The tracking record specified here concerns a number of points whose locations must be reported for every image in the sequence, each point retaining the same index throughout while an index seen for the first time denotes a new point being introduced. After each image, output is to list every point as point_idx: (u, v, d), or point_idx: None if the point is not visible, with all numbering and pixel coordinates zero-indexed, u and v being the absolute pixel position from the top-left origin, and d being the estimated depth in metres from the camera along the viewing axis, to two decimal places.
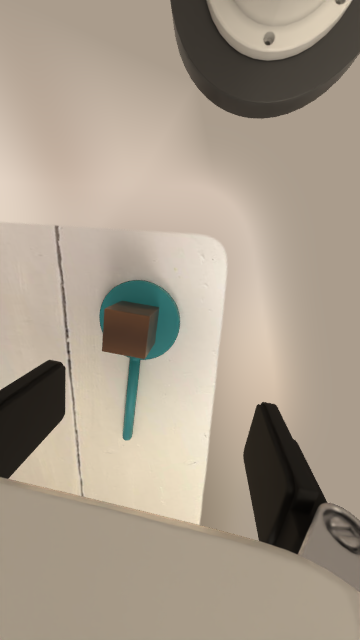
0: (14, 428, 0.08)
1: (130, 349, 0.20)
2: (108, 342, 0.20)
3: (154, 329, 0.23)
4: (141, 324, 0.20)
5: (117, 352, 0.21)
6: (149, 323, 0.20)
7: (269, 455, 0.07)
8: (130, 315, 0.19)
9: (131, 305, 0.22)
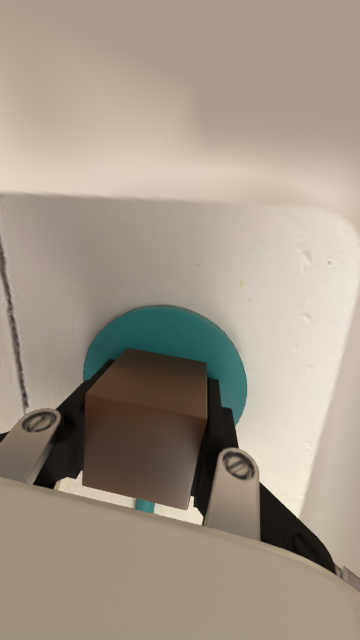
0: None
1: (152, 488, 0.08)
2: (97, 469, 0.08)
3: None
4: (183, 436, 0.07)
5: (119, 491, 0.08)
6: None
7: None
8: (153, 414, 0.07)
9: (150, 365, 0.10)
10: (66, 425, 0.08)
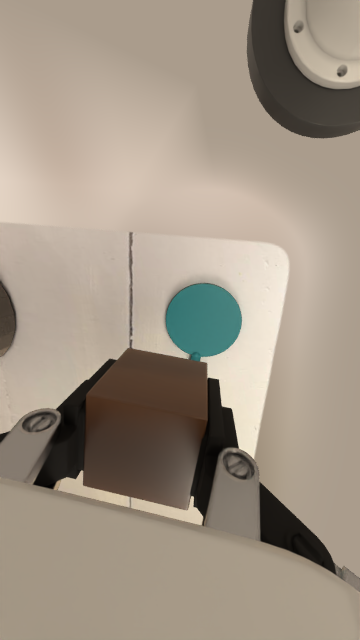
0: None
1: (153, 488, 0.08)
2: (98, 469, 0.08)
3: None
4: (183, 436, 0.07)
5: (120, 491, 0.08)
6: None
7: None
8: (153, 414, 0.07)
9: (150, 366, 0.10)
10: (66, 425, 0.08)
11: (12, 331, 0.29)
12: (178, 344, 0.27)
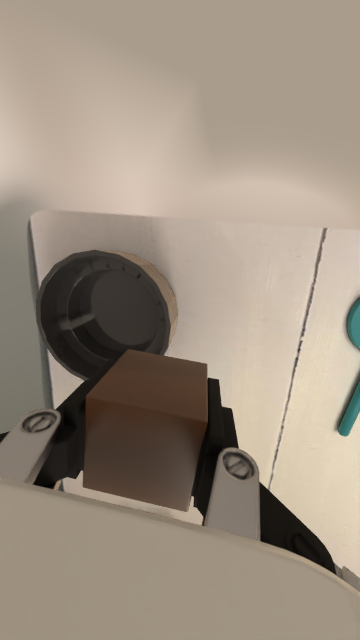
0: None
1: (153, 490, 0.08)
2: (97, 471, 0.08)
3: None
4: (183, 438, 0.07)
5: (120, 493, 0.08)
6: None
7: None
8: (153, 416, 0.07)
9: (150, 367, 0.10)
10: (66, 425, 0.08)
11: (174, 332, 0.28)
12: None
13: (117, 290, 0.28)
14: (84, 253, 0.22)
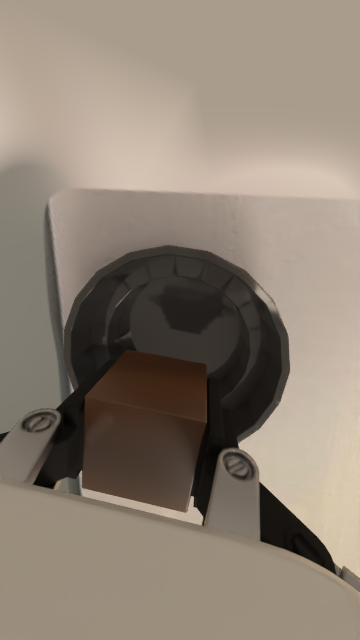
0: None
1: (152, 490, 0.08)
2: (96, 472, 0.08)
3: None
4: (182, 439, 0.07)
5: (119, 494, 0.08)
6: None
7: None
8: (152, 417, 0.07)
9: (150, 367, 0.10)
10: (66, 425, 0.08)
11: None
12: None
13: (177, 306, 0.19)
14: (150, 251, 0.13)
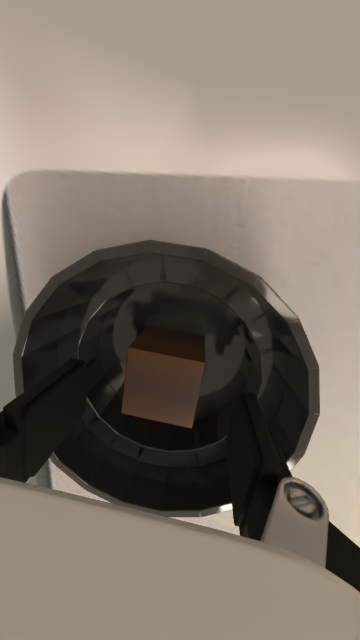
0: (46, 422, 0.08)
1: (169, 412, 0.12)
2: (132, 400, 0.12)
3: None
4: (190, 375, 0.12)
5: (146, 416, 0.13)
6: None
7: (244, 438, 0.08)
8: (171, 360, 0.12)
9: (166, 336, 0.14)
10: (7, 429, 0.07)
11: None
12: None
13: (168, 318, 0.15)
14: (124, 249, 0.09)
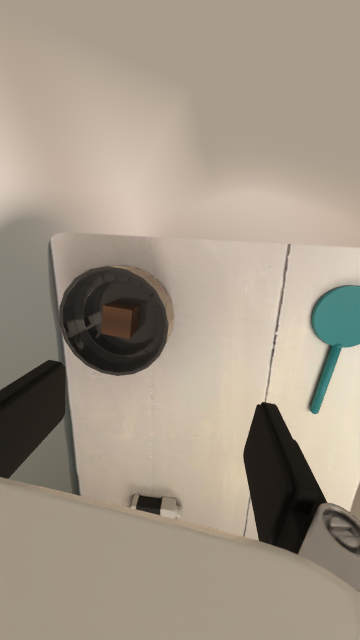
0: (14, 428, 0.08)
1: (120, 332, 0.31)
2: (105, 327, 0.31)
3: (137, 320, 0.33)
4: (127, 315, 0.30)
5: (111, 334, 0.31)
6: (132, 315, 0.30)
7: (269, 455, 0.07)
8: (119, 309, 0.30)
9: (121, 303, 0.33)
10: None
11: (171, 330, 0.34)
12: (322, 337, 0.32)
13: (123, 296, 0.34)
14: (99, 269, 0.28)
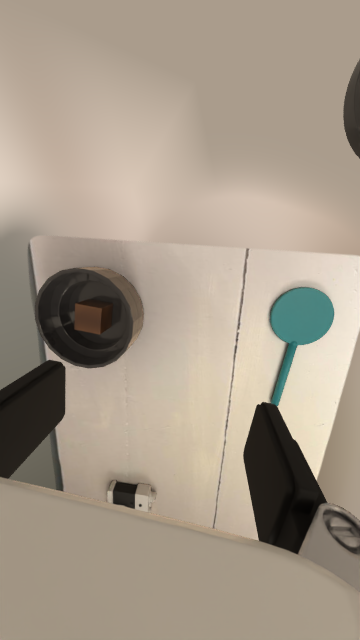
0: (14, 428, 0.08)
1: (91, 328, 0.34)
2: (78, 324, 0.34)
3: (109, 317, 0.36)
4: (97, 313, 0.33)
5: (83, 330, 0.34)
6: (102, 312, 0.33)
7: (269, 455, 0.07)
8: (90, 307, 0.33)
9: (94, 302, 0.35)
10: None
11: (141, 327, 0.37)
12: (279, 335, 0.34)
13: (97, 295, 0.37)
14: (69, 270, 0.30)
